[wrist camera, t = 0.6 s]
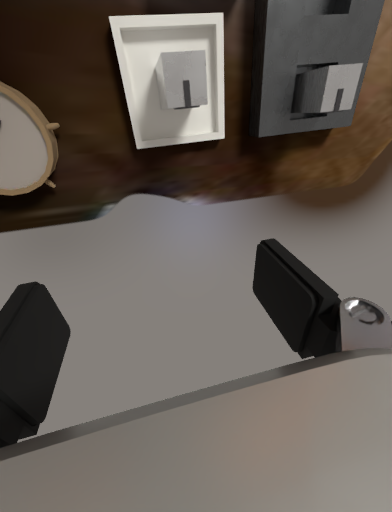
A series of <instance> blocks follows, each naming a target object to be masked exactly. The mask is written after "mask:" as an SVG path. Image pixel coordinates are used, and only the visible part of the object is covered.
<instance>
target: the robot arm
mask: <svg viewBox="0 0 392 512" xmlns="http://www.w3.org/2000/svg"><path fill="white" fill-rule="evenodd" d="M253 292H254V294H255V295H256V297H257V298H258V300H259V301H260V303H261V304H262V306H263V307H264V309H265V310H266V312H267V313H268V315H269V316H270V318H271V319H272V321H273V322H274V324H275V325H276V327H277V328H278V330H279V331H280V332H281V334H282V335H283V337H284V338H285V340H286V341H287V343H288V344H289V345H290V347H291V349H292V350H293V351H294V352H298V354H299V355H300V357H301V358H302V359H303V358H307V357H311V356H314V357H315V358H313V359H308V360H304V361H301V362H297V363H293V364H289V365H286V366H282V367H278V368H275V369H271V370H268V371H264V372H261V373H257V374H254V375H250V376H246V377H243V378H239V379H236V380H232V381H228V382H225V383H222V384H218V385H214V386H211V387H207V388H204V389H200V390H197V391H194V392H190V393H186V394H183V395H179V396H176V397H173V398H169V399H165V400H162V401H158V402H155V403H151V404H148V405H145V406H141V407H138V408H134V409H130V410H127V411H124V412H120V413H117V414H113V415H110V416H107V417H103V418H100V419H96V420H93V421H89V422H86V423H82V424H79V425H76V426H72V427H69V428H65V429H62V430H58V431H55V432H52V433H48V434H45V435H41V436H38V437H35V438H32V439H29V440H25V441H22V442H19V443H17V441H18V439H22V438H26V437H30V436H33V435H36V434H37V431H38V428H39V425H40V423H42V422H43V421H44V419H45V417H46V415H47V411H48V407H49V404H50V401H51V398H52V394H53V391H54V388H55V384H56V381H57V378H58V374H59V371H60V367H61V364H62V361H63V357H64V354H65V351H66V347H67V344H68V341H69V337H70V328H69V325H68V324H67V322H66V320H65V319H64V317H63V315H62V314H61V312H60V310H59V309H58V307H57V305H56V303H55V302H54V300H53V298H52V297H51V295H50V293H49V292H48V290H47V288H46V287H45V285H43V284H39V283H38V282H31V283H26V284H21V285H18V286H17V288H16V289H15V291H14V292H13V293H12V295H11V296H10V298H9V300H8V301H7V302H6V304H5V305H4V306H3V308H2V309H1V311H0V512H392V321H391V320H390V318H389V316H388V314H387V313H386V312H385V310H384V309H383V308H381V307H380V306H378V305H377V304H375V303H373V302H371V301H369V300H366V299H363V298H356V297H351V298H350V297H349V298H346V299H344V300H342V301H341V300H340V299H339V298H338V294H337V293H336V292H335V291H334V290H333V289H332V288H330V287H329V286H328V285H327V284H326V283H325V282H324V281H322V280H321V279H320V278H319V277H318V276H317V275H316V274H314V273H313V272H312V271H311V270H310V269H309V268H308V267H306V266H305V265H304V264H303V263H302V262H301V261H299V260H298V259H297V258H296V257H295V256H294V255H293V254H292V253H290V252H289V251H288V250H287V249H286V248H285V247H283V246H282V245H281V244H280V243H279V242H278V241H277V240H275V239H267V240H262V241H261V242H260V244H258V245H257V251H256V261H255V270H254V281H253Z"/></svg>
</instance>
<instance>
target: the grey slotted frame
mask: <svg viewBox="0 0 392 512" xmlns="http://www.w3.org/2000/svg"><path fill="white" fill-rule="evenodd" d="M383 4H384V0H255V13H254V35H253V57H252V78H251V100H250V122H249V136H254V137H265V136H273V135H281V134H289V133H297V132H305V131H313V130H321V129H329V128H337V127H345V126H351V123H352V119H353V115H354V112H355V108H356V104H357V100H358V97H359V93H360V89H361V86H362V82H363V78H364V75H365V71H366V67H367V63H368V60H369V56H370V52H371V49H372V45H373V41H374V37H375V34H376V30H377V26H378V23H379V19H380V15H381V12H382V8H383ZM358 63H363V65H362V69H361V73H360V77H359V81H358V85H357V88H356V92H355V96H354V100H353V104H352V108H351V109H348V110H343V111H342V112H334V113H323V114H318V113H291V107H292V100H293V92H294V85H295V77H296V74H300V73H303V72H307V71H311V70H315V69H319V68H323V67H326V66H332V65H345V64H358Z"/></svg>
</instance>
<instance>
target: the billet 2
mask: <svg viewBox="0 0 392 512" xmlns="http://www.w3.org/2000/svg"><path fill="white" fill-rule="evenodd" d="M362 65H363V63H358V64H345V65H332V66H326V67H323V68H319V69H315V70H311V71H307V72H303V73H300V74H296V77H295V85H294V92H293V100H292V107H291V113H318V114H323V113H334V112H342V111H343V110H348V109H351V108H352V104H353V100H354V96H355V92H356V88H357V85H358V81H359V77H360V73H361V69H362Z"/></svg>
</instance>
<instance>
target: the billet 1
mask: <svg viewBox="0 0 392 512" xmlns="http://www.w3.org/2000/svg"><path fill="white" fill-rule="evenodd" d="M155 73H156V80H157V87H158V94H159V100H160V107H161V110H168V109H174V110H178V109H188V108H197V107H200V106H202V105H208V97H207V74H206V52H205V50H195V51H178V52H161V53H160V56H159V58H158V61H157V63H156V66H155Z"/></svg>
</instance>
